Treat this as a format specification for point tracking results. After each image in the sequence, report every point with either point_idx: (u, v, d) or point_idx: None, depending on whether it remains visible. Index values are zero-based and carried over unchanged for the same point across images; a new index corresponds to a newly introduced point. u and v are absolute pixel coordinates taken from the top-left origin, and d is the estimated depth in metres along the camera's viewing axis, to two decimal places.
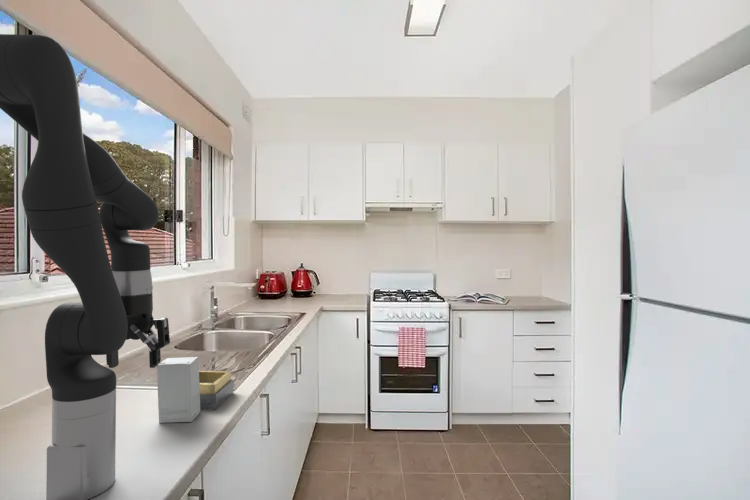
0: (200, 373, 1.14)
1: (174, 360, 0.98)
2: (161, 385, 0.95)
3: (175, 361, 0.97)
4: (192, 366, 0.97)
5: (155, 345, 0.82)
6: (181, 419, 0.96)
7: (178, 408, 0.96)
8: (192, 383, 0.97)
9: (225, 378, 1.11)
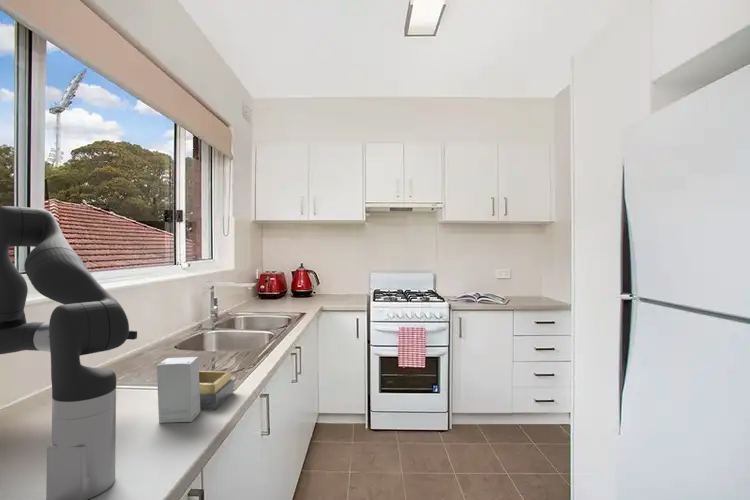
0: (200, 373, 1.14)
1: (174, 360, 0.98)
2: (161, 385, 0.95)
3: (175, 361, 0.97)
4: (192, 366, 0.97)
5: None
6: (181, 419, 0.96)
7: (178, 408, 0.96)
8: (192, 383, 0.97)
9: (225, 378, 1.11)
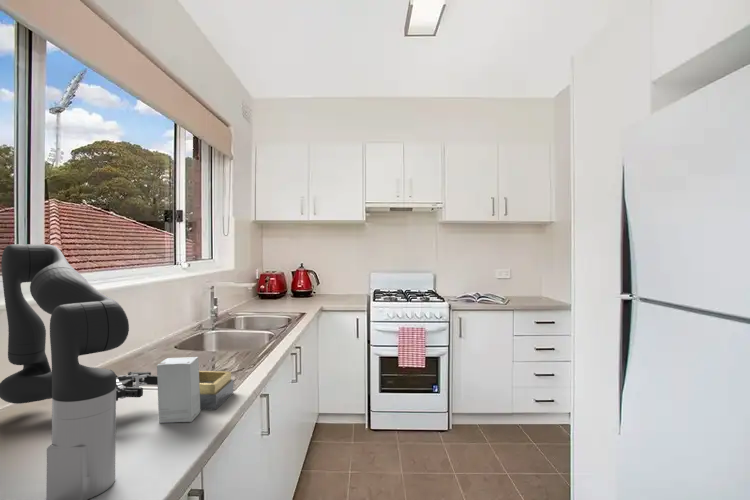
0: (200, 373, 1.14)
1: (174, 360, 0.98)
2: (161, 385, 0.95)
3: (175, 361, 0.97)
4: (192, 366, 0.97)
5: None
6: (181, 419, 0.96)
7: (178, 408, 0.96)
8: (192, 383, 0.97)
9: (225, 378, 1.11)
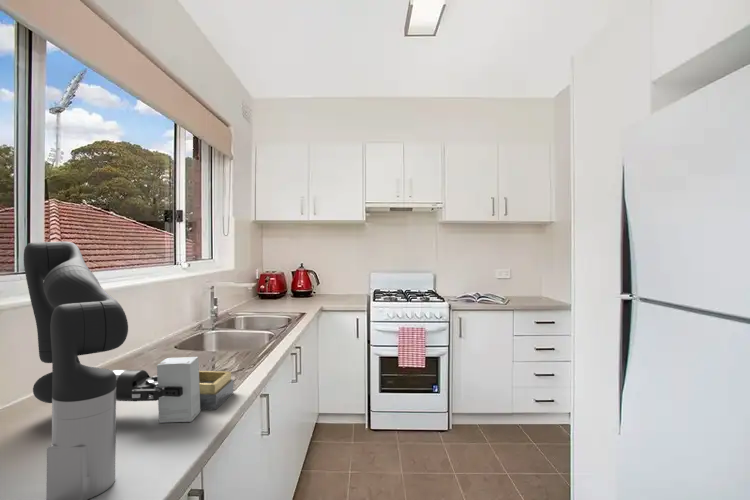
0: (200, 373, 1.14)
1: (174, 360, 0.98)
2: (161, 385, 0.95)
3: (175, 361, 0.97)
4: (192, 366, 0.97)
5: None
6: (181, 419, 0.96)
7: (178, 408, 0.96)
8: (192, 383, 0.97)
9: (225, 378, 1.11)
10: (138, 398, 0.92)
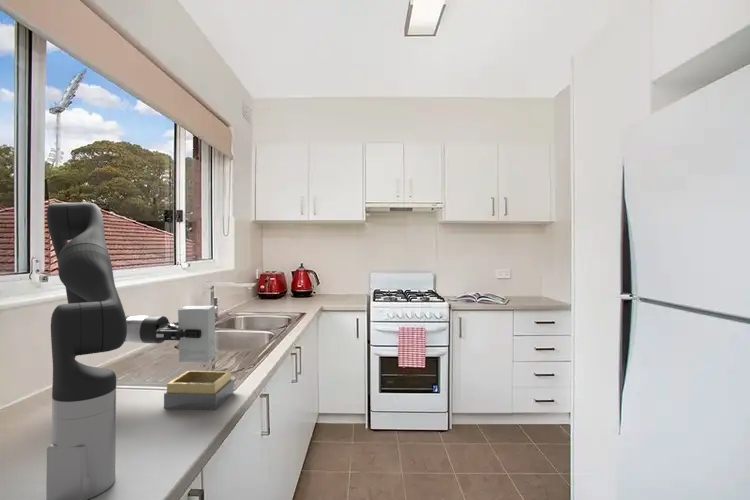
0: (200, 373, 1.14)
1: (193, 307, 1.08)
2: (182, 328, 1.06)
3: (194, 307, 1.08)
4: (209, 312, 1.07)
5: None
6: (199, 359, 1.06)
7: (196, 349, 1.06)
8: (210, 327, 1.07)
9: (225, 378, 1.11)
10: (162, 337, 1.02)
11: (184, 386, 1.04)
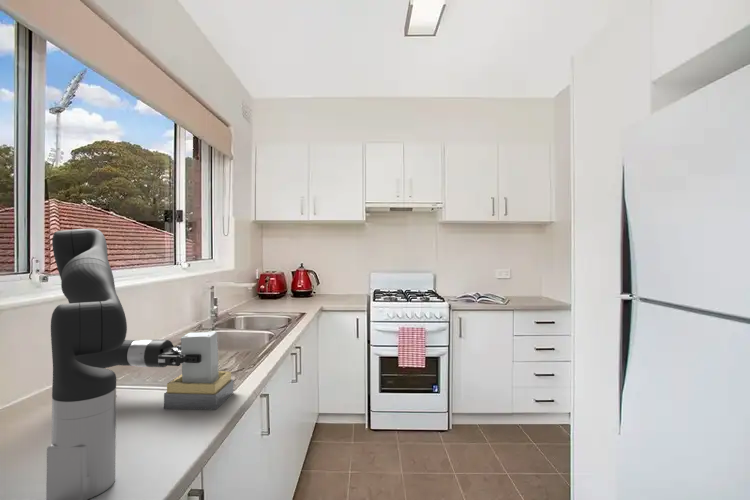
0: None
1: (196, 334, 1.09)
2: None
3: (196, 334, 1.09)
4: (212, 339, 1.08)
5: None
6: None
7: (199, 376, 1.07)
8: (212, 354, 1.08)
9: (225, 378, 1.11)
10: (163, 363, 1.03)
11: (184, 386, 1.04)
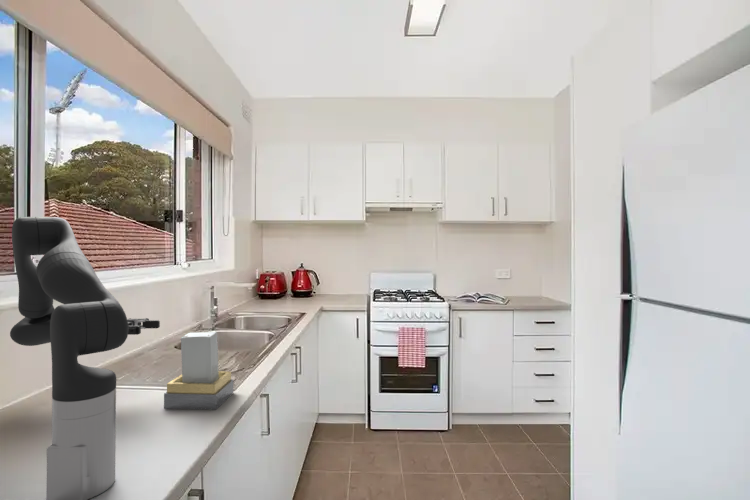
0: None
1: (196, 334, 1.09)
2: (184, 355, 1.07)
3: (196, 334, 1.09)
4: (212, 339, 1.08)
5: None
6: None
7: (199, 376, 1.07)
8: (212, 354, 1.08)
9: (225, 378, 1.11)
10: None
11: (184, 386, 1.04)
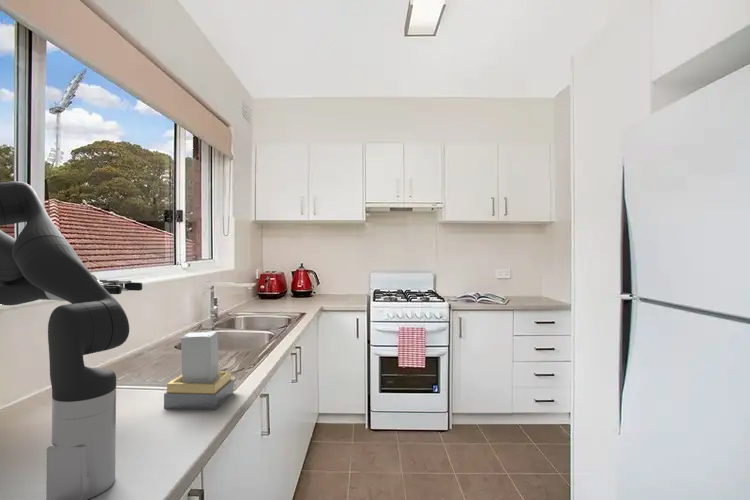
0: None
1: (196, 334, 1.09)
2: (184, 355, 1.07)
3: (196, 334, 1.09)
4: (212, 339, 1.08)
5: None
6: None
7: (199, 376, 1.07)
8: (212, 354, 1.08)
9: (225, 378, 1.11)
10: None
11: (184, 386, 1.04)
